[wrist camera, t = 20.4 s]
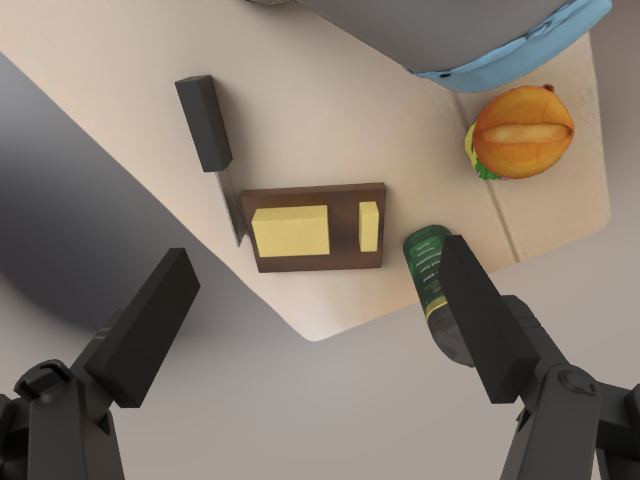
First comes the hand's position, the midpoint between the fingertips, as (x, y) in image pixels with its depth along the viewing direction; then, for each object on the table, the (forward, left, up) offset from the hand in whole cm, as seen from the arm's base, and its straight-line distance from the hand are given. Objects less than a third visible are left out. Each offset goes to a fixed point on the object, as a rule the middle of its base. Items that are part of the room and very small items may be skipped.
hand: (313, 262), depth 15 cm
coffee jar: (+20, +16, -27) cm, 37 cm away
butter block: (+13, -5, -25) cm, 28 cm away
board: (+15, -2, -27) cm, 31 cm away
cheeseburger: (+2, +22, -27) cm, 35 cm away
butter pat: (+13, +6, -25) cm, 28 cm away
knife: (+4, -14, -27) cm, 30 cm away
